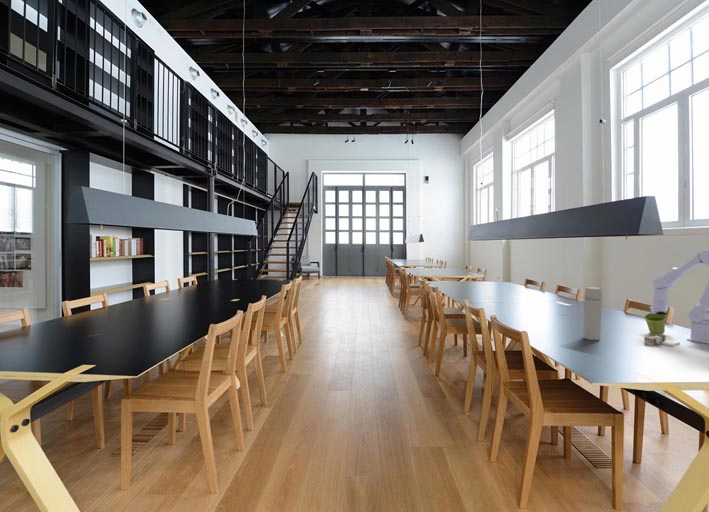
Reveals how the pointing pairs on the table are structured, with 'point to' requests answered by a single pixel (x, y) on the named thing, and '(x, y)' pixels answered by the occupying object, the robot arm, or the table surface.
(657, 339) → the stop post
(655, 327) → the plant pot
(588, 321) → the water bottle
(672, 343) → the mounting plate
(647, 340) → the oak arm
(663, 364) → the table surface
